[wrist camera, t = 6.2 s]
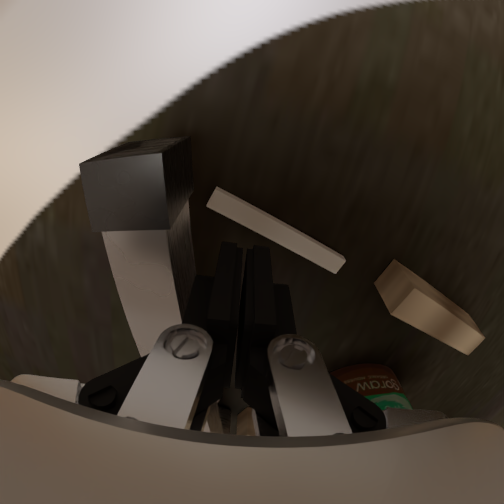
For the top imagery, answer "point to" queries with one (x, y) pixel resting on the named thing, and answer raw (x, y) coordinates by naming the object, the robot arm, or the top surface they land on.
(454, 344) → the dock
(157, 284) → the retention gate
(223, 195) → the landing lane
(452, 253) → the top surface
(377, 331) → the top surface
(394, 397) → the food container
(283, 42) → the top surface
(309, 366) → the robot arm
